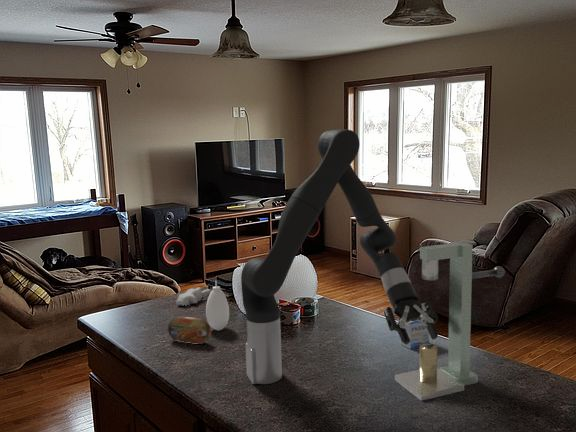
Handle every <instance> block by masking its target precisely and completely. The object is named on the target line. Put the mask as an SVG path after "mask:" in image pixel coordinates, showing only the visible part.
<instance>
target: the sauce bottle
mask: <svg viewBox="0 0 576 432" xmlns="http://www.w3.org/2000/svg"><path fill="white" fill-rule="evenodd" d="M214 281H215V286H212V290H211V293H209V295H208V297H207V301H206V306H205V316H206V322H207V323H208V324H209V326H210V328H212V329H213V330H215V331H221V330H223V329H224V328H225V327H226V326H227V324H228V322H229V320H230V307H229V302H228V299H227V297H226V294H225V293H224V291H222V289H221V286H218V284H217V283H218V282H217V280H214Z"/></svg>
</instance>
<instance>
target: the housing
mask: <svg viewBox="0 0 576 432" xmlns="http://www.w3.org/2000/svg"><path fill="white" fill-rule="evenodd" d="M438 348H439V347H438V346H437V345H435V344H431V343H429V344H422V345H420V347H419V361H418V362H419V365H418V366H419V367H418V370H419V380H420V381H421V382H423V383H427V384H432V383H435V382H437V367H438Z"/></svg>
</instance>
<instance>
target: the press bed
mask: <svg viewBox="0 0 576 432" xmlns="http://www.w3.org/2000/svg"><path fill="white" fill-rule="evenodd" d="M473 248H474V247H473V244H471V243H468V242H463V241H453V242H452V241H451V242H450V243H446V244H445V243H444V244H442V243H441V244H433V245H427V246H420V247H419V259H420V260H421V279H422V280H424V281H425V280H426V281H437V280H438V279H439V260H445V259H447V260H448V259H449V285H448V286H449V287H448V288H449V296H448V301H449V302H448V348H447V349H448V350H447V353H448V354H447V355H448V356H447V358H448V359H447V361H448V362H447V365H445V366H440V367H438V366H437V382H435V383H432V384H427V383H423V382H421V381H420V380H419V369H416V370H412V371H406V372H402V373H397V374H395V375H394V381H396V382H397V383H398V384H399V385H401V386H402V388H404V389H405V390H407V391H408V392H409V393H411V394H412V395H414V396H415V397H416V398H417V399H418V400H420V401H425V400H426V401H427V400H431V399H434V398H439V397H442V396H448V395H451V394H454V393H455V394H456V393H458V392H462V391H463V392H464V391H465V386H469V385H473V384H477V383H478V382H479V375H478V374H476V373H475V372H473V371H471V370H470V367H471V365H470V363H471V360H470V359H471V327H472V324H471V323H472V322H471V321H472V283H473V282H472V281H473V280H474V279H481V278H486V277H494V276H495V277H496V278H502V277H503V276H505V274H506V271H505V268H503V267H502V266H499V265H498V266H495V267H493V268H492V269H488V270H483V271H476V272H475V271H474V272H473Z"/></svg>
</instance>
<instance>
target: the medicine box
mask: <svg viewBox="0 0 576 432" xmlns="http://www.w3.org/2000/svg"><path fill="white" fill-rule="evenodd" d="M420 317H422V315H420ZM404 328H405V329H406V331H407V334H408V336H409V339H410V342H409V343H408V344H404V343H403V342H402V341H401V340H400V345H401V346H403V347H404V348H406V349H409V350H413V349H417V348H420V345H422V344H430V334H429V332H428V329H427V326H426V325H425V324H423V323H420V322H419V321H417V320H416V321H410V322H406V321H405V325H404Z"/></svg>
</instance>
